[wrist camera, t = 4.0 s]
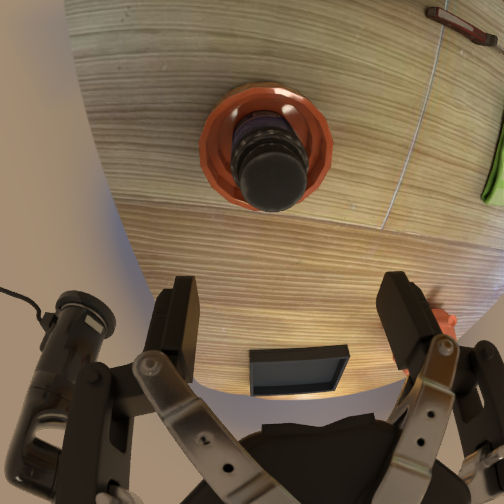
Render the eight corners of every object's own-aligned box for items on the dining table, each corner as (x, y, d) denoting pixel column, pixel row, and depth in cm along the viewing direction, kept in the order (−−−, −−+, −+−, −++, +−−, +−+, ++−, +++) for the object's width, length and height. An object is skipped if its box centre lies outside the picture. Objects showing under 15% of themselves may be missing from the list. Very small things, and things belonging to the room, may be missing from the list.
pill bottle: (220, 145, 30) (210, 194, 21) (255, 96, 27) (262, 122, 18) (270, 176, 32) (281, 235, 23) (306, 131, 29) (335, 174, 20)
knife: (521, 68, 22) (547, 77, 18) (520, 76, 22) (545, 86, 18) (425, 6, 20) (451, 4, 16) (423, 16, 21) (449, 15, 17)
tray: (250, 385, 59) (250, 396, 57) (249, 349, 51) (250, 362, 49) (332, 380, 60) (334, 390, 58) (347, 344, 52) (350, 356, 50)
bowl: (209, 188, 33) (204, 212, 29) (202, 83, 26) (195, 89, 22) (315, 188, 33) (325, 210, 29) (323, 84, 26) (337, 91, 22)
